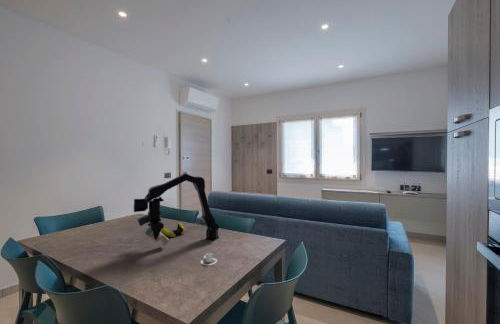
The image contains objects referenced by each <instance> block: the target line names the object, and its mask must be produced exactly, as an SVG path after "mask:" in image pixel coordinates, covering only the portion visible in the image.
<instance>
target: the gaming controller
mask: <svg viewBox="0 0 500 324" xmlns="http://www.w3.org/2000/svg"><path fill="white" fill-rule="evenodd" d="M160 233H162V234H163V235H164V236H166V237H168V238H174V237H178V236H182V235H184V234H185V233H186V228H185V227H184V226H183V224H182V223H177V228H176V229H174V230H168V229H167V227H164V228H163V229H161V231H160Z"/></svg>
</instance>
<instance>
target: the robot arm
mask: <svg viewBox="0 0 500 324" xmlns="http://www.w3.org/2000/svg"><path fill="white" fill-rule="evenodd" d="M185 182H188V183H192V186H193V187H194V189H195V190H196V193H197V195H198V199H199V203H200V207H201V210H202V216H200V218H201V221H202V222H201V223H202V224H204V226H206V231H205V235H206V236H205V237H206V238H205V240H208V241H216V240H217V239H219V238H220V235H219V229H220V225H219V224H217V222H216V219H215V218H214V215H213V214H212V212H211V210H210V206H209V201H208V199H207V195H206V191H205V190H206V189H205V188H206V181H205V178H204V177H201V176H193V175H190V174H187V173H182V174H181V175H178V176H176V177H175V178H173V179H171V180H168V181H167V182H164V183H161V184H157V185H153V186H151V187H149V189H148V191H147V194H146V195H145V197H144V198H134V199H133V213H140V212H145V211H147V210H148V212H147V214H145V215H143V216H141V217H139V218H137V219H136V221H137V222H138V224H139V227H142V226H144V225H145V224H147V225H148V227H150V229H151V230H152V231H153V234H154V239H155V240H156V239H157V238H158V235H159V233H161V229H163V228H165V226H164V223H163V222H162V219H161V214H162V211H161V202H164V201H165V200H164V198H162V195H163V194H165V192H166V191H168V190H170V189H173V188H174V187H176V186H178V185H180V184H182V183H185Z"/></svg>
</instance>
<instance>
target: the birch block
mask: <svg viewBox="0 0 500 324" xmlns="http://www.w3.org/2000/svg"><path fill="white" fill-rule="evenodd" d="M144 234H145V235H146V236H148V237H149V238H150V239H151V240H153V241H154V242H155V243H157V244H158V245H159V246H161V247H163V248H165V247H166V246H167V245H168V243H169V242H170V239H169V237H168V236H166V235H164V234H163V233H162V232H160V233H159V235H158V238H157V239H156V240H155V239H154V234H153V231H152V230H151V229H150V226H148V228H147V229H146V230H145V231H144Z"/></svg>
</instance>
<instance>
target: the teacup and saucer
mask: <svg viewBox="0 0 500 324" xmlns="http://www.w3.org/2000/svg"><path fill="white" fill-rule="evenodd" d="M212 260H213V261H214V262H212ZM204 261H206V263H205V262H204ZM217 262H218V259H217V258H215V257H213V252H207V253H205V255H203V259H201V260H200V264H201V265H202V266H212V265H216V264H217ZM208 263H209V264H208Z"/></svg>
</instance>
